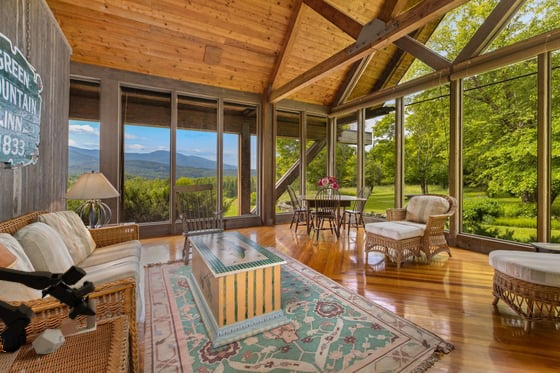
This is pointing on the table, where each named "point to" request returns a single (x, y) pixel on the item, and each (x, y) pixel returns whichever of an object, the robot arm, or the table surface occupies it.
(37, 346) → the die
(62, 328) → the cube
